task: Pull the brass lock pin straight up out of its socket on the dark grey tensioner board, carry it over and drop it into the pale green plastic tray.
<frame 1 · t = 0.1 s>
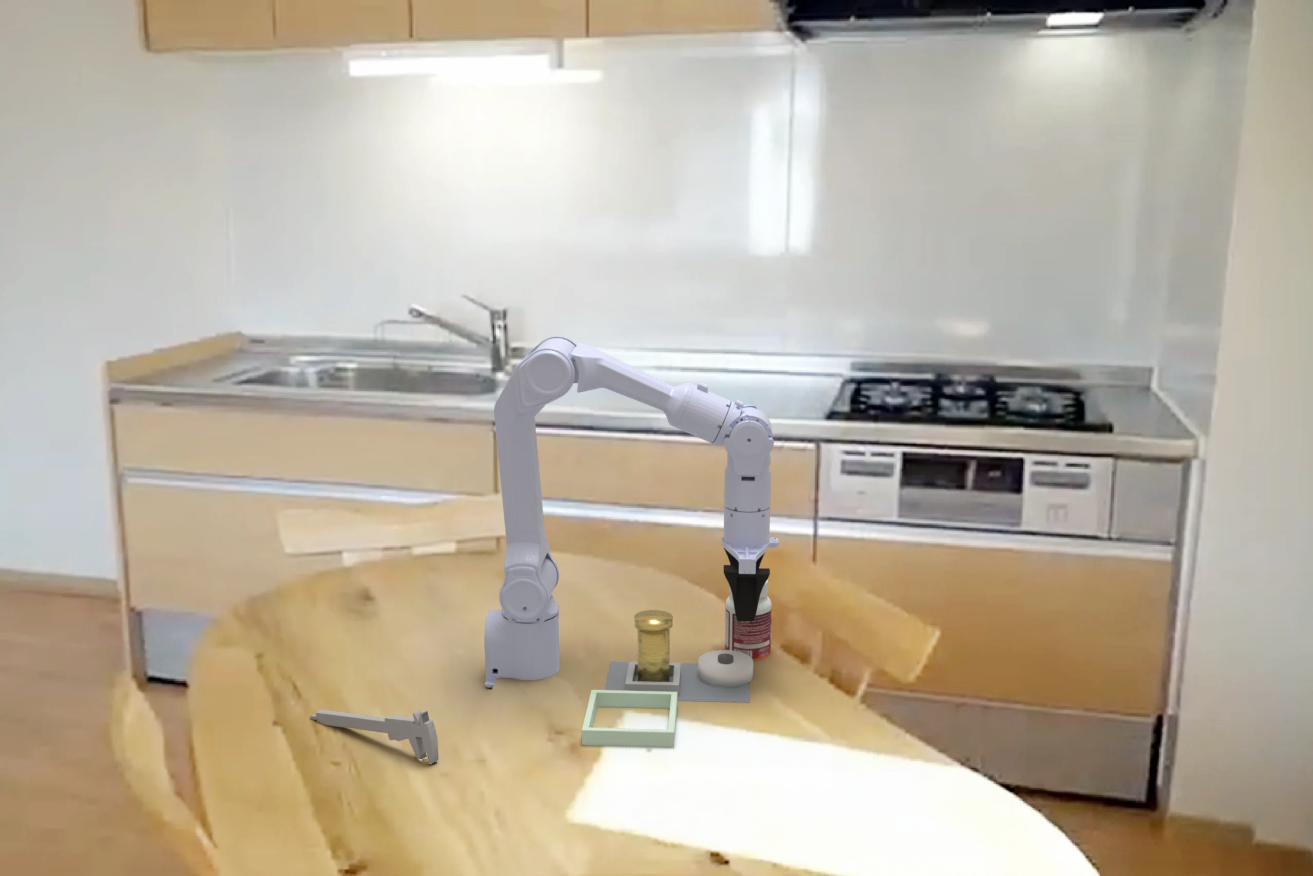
hand: (744, 608, 155), 10 cm above the table, fingers open, 7 cm apart
tray: (631, 733, 144), on the table
caliper: (372, 743, 143), on the table
tensioner board: (677, 690, 155), on the table
lock pin: (653, 684, 154), point 1 cm above the table, touching tensioner board
pill bottle: (747, 660, 165), on the table
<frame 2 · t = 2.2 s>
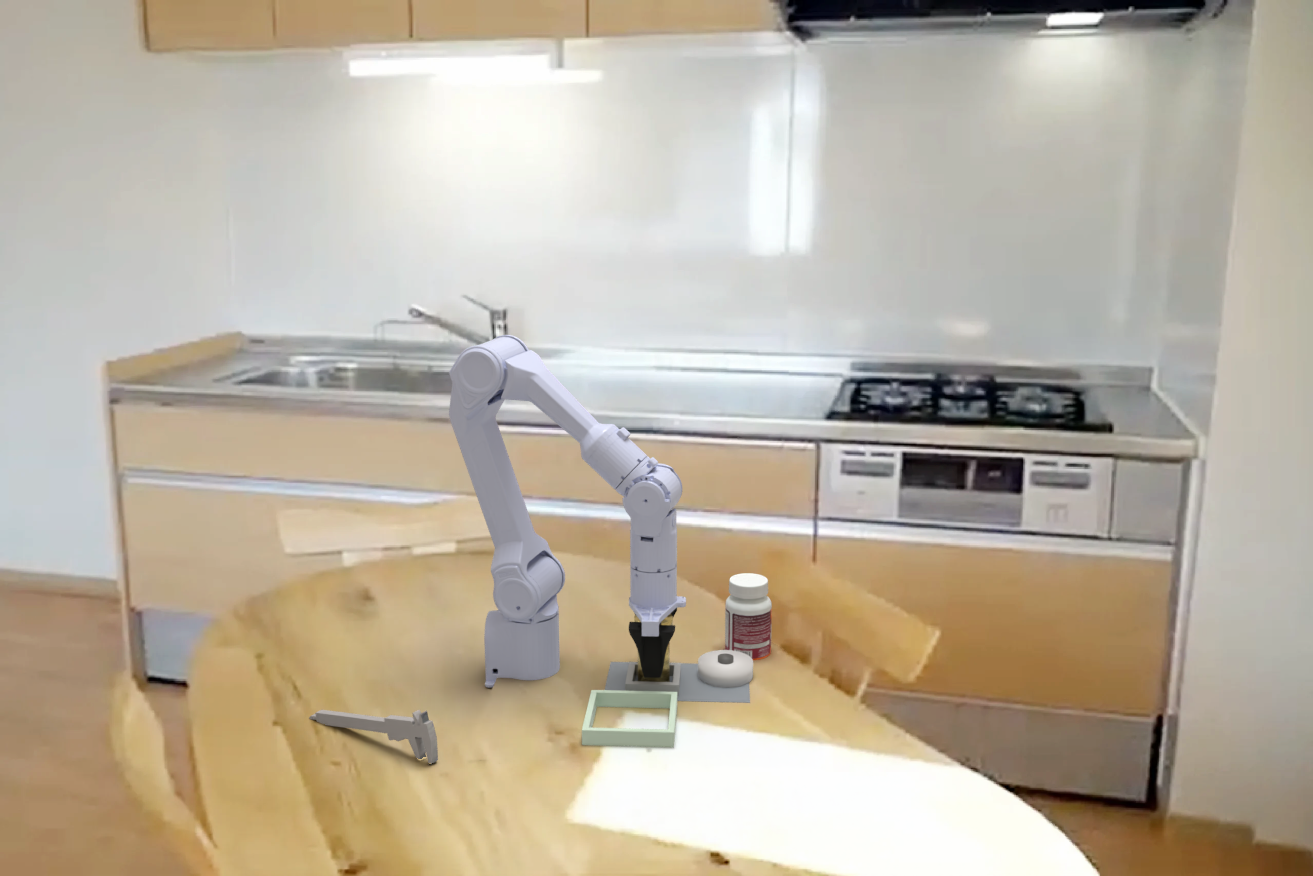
hand: (653, 668, 154), 3 cm above the table, fingers closed on lock pin, 4 cm apart
lock pin: (653, 684, 154), point 1 cm above the table, touching gripper, tensioner board
everything else where it was.
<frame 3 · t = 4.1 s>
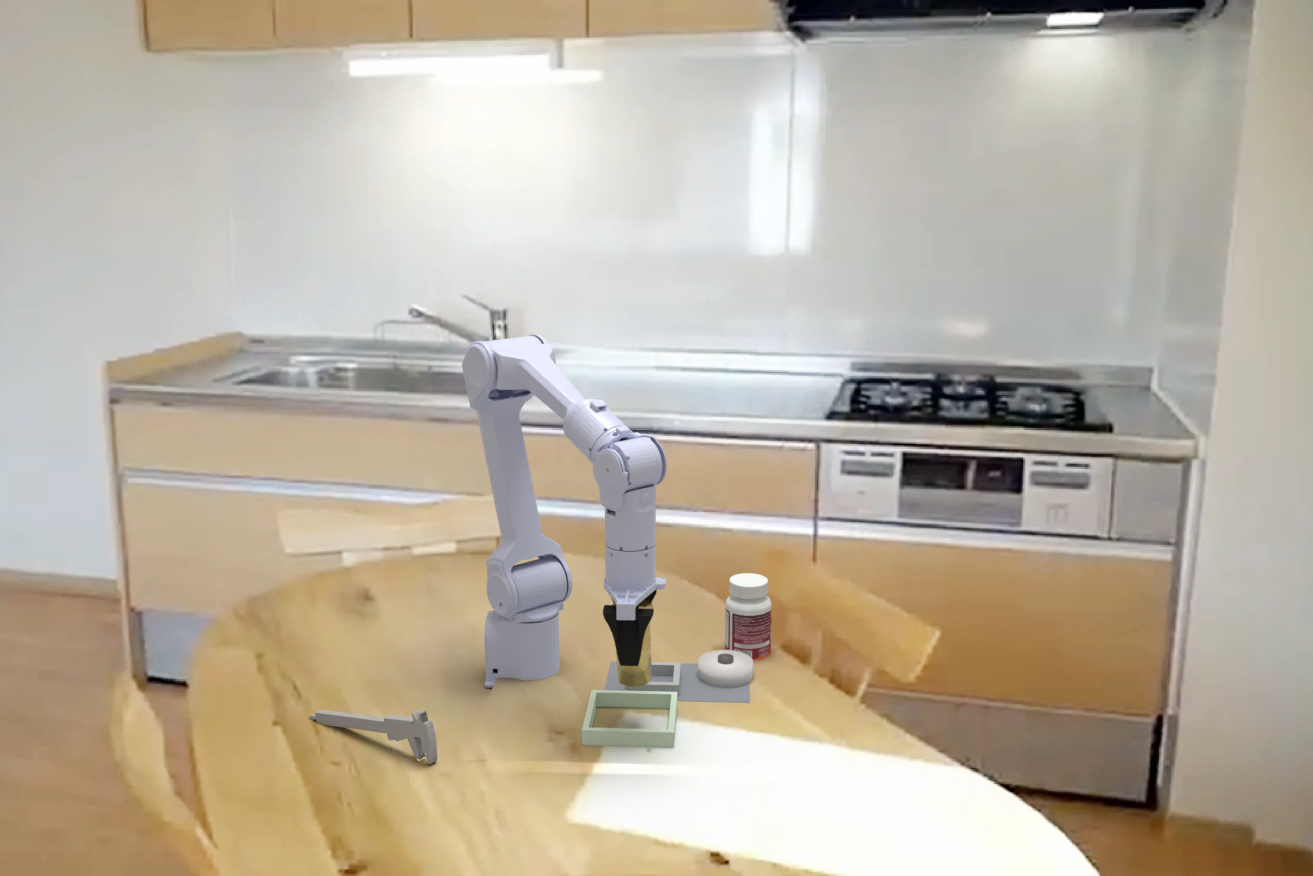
hand: (630, 655, 142), 10 cm above the table, fingers closed on lock pin, 4 cm apart
lock pin: (634, 678, 143), point 7 cm above the table, touching gripper
everything else where it was.
when the fingers open (5 cm above the table, at t = 5.9 s): lock pin drops 1 cm, resting on tray.
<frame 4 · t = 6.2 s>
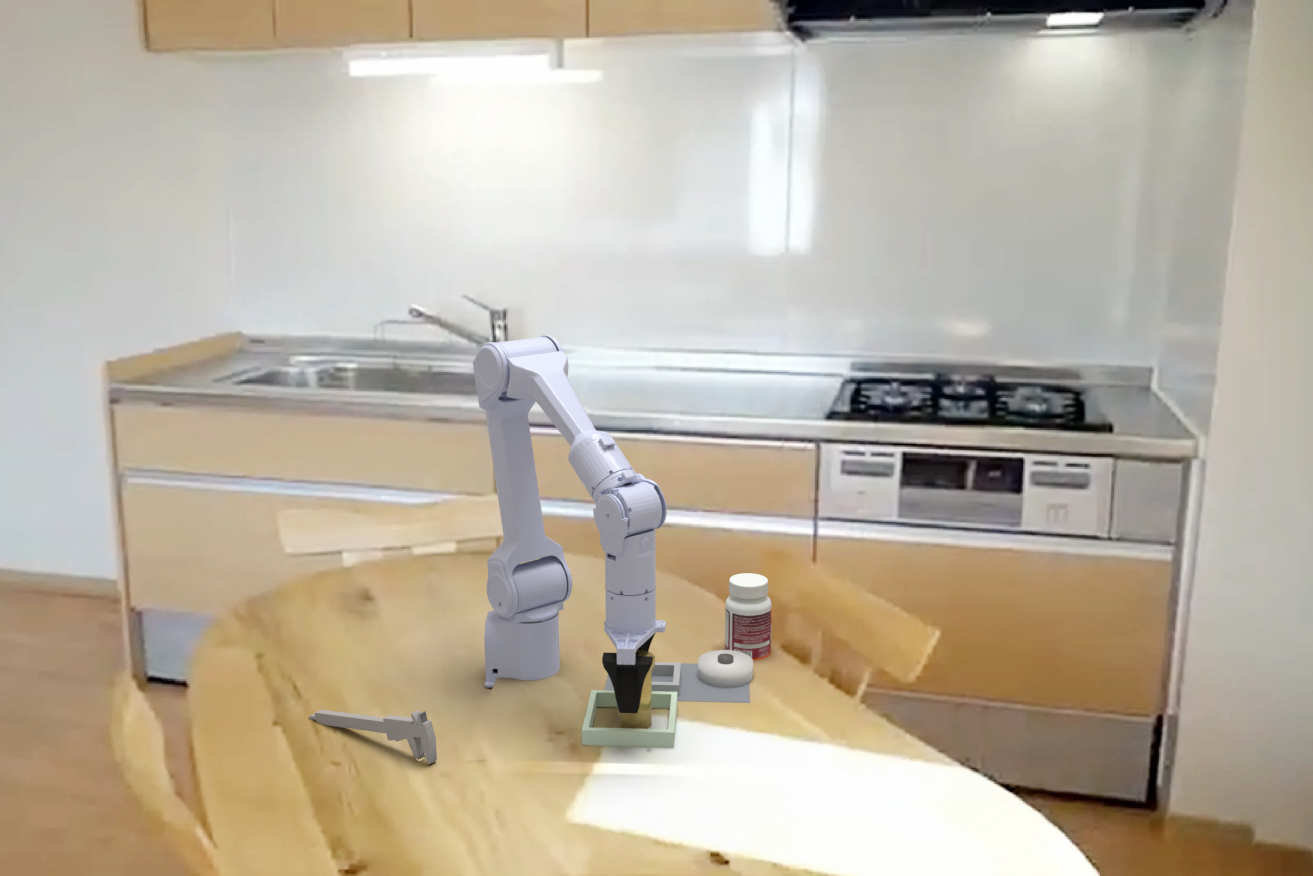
hand: (631, 697, 143), 5 cm above the table, fingers open, 7 cm apart
lock pin: (634, 729, 144), point 1 cm above the table, touching tray
everything else where it was.
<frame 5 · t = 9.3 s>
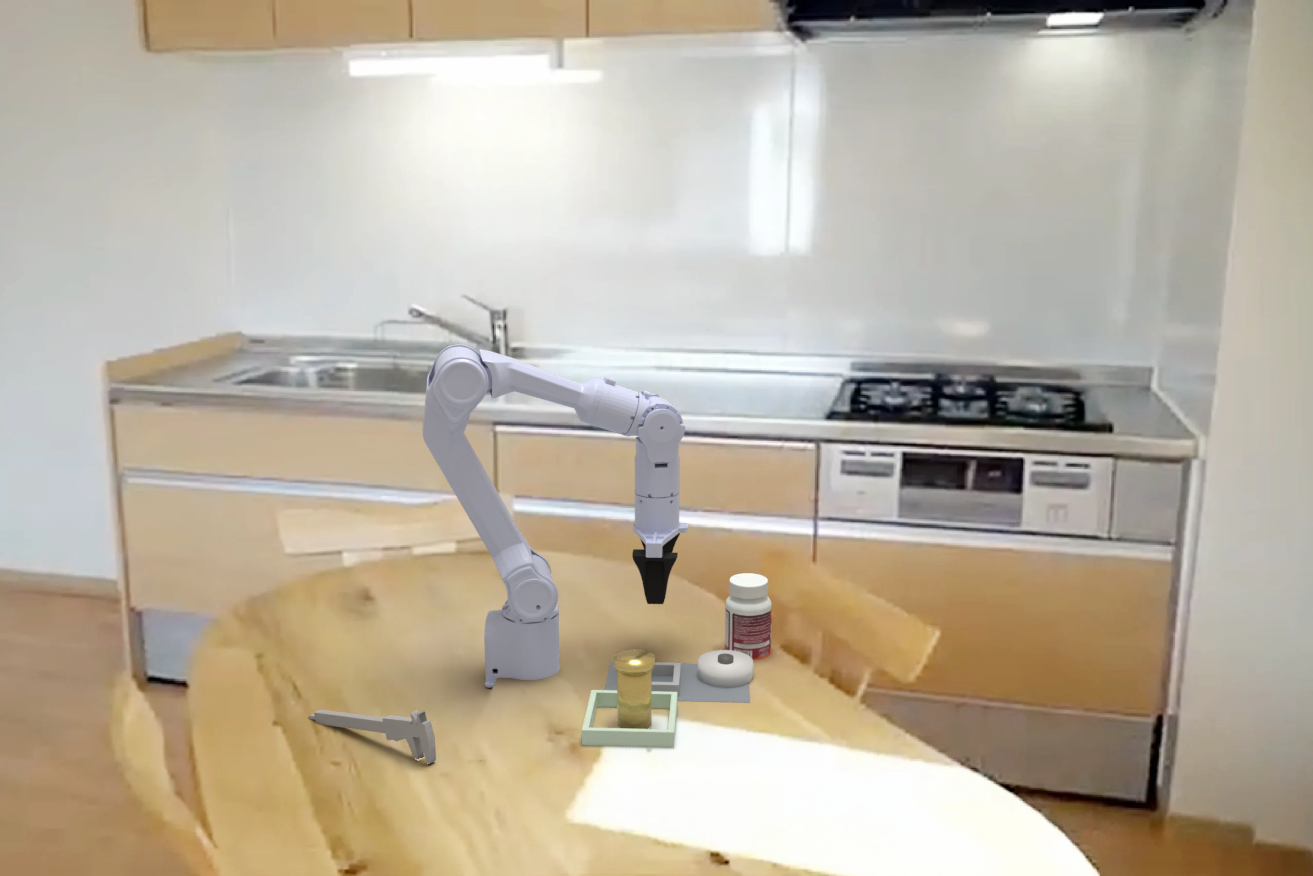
hand: (657, 592, 160), 10 cm above the table, fingers open, 7 cm apart
nothing on the table moved.
at the end: lock pin inside the target area on the tray (0.5 cm from its centre), point 0.5 cm above the tray's base; the gripper is holding nothing; lock pin moved 10.9 cm from its start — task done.
